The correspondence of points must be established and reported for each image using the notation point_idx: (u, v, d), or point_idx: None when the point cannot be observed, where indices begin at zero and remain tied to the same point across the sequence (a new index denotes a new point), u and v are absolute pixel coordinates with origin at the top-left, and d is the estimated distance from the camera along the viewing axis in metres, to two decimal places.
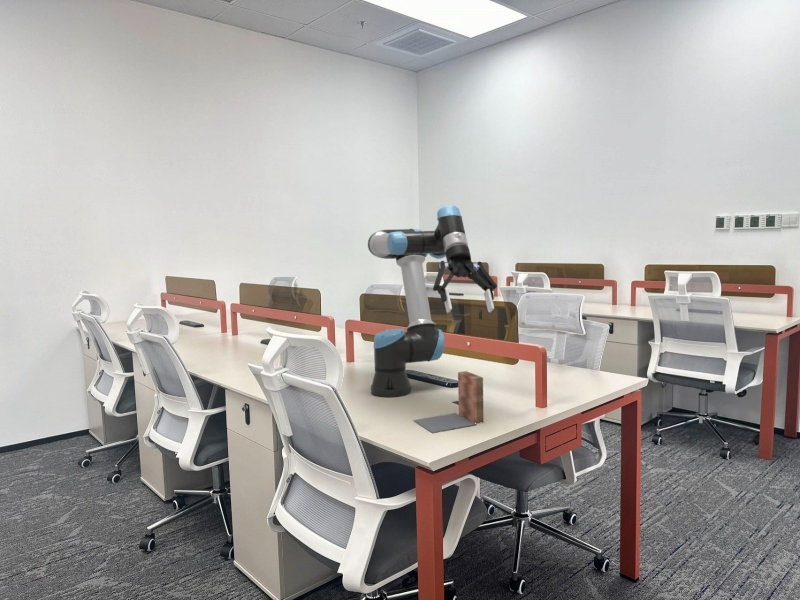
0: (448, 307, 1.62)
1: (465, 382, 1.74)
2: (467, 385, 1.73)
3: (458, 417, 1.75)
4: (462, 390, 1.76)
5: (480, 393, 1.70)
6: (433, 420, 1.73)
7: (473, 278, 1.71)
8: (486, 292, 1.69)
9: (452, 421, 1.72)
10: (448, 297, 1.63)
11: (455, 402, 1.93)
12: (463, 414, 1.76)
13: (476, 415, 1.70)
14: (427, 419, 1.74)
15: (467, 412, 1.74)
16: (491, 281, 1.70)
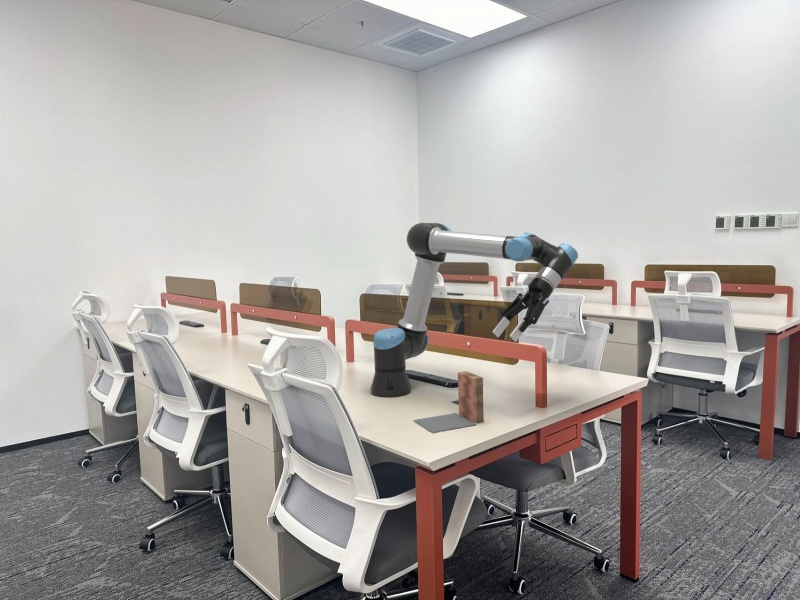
0: (516, 338, 1.73)
1: (465, 382, 1.74)
2: (467, 385, 1.73)
3: (458, 417, 1.75)
4: (462, 390, 1.76)
5: (480, 393, 1.70)
6: (433, 420, 1.73)
7: (520, 306, 1.83)
8: (507, 321, 1.83)
9: (452, 421, 1.72)
10: None
11: (454, 402, 1.93)
12: (463, 414, 1.76)
13: (476, 415, 1.70)
14: (427, 419, 1.74)
15: (467, 412, 1.74)
16: None
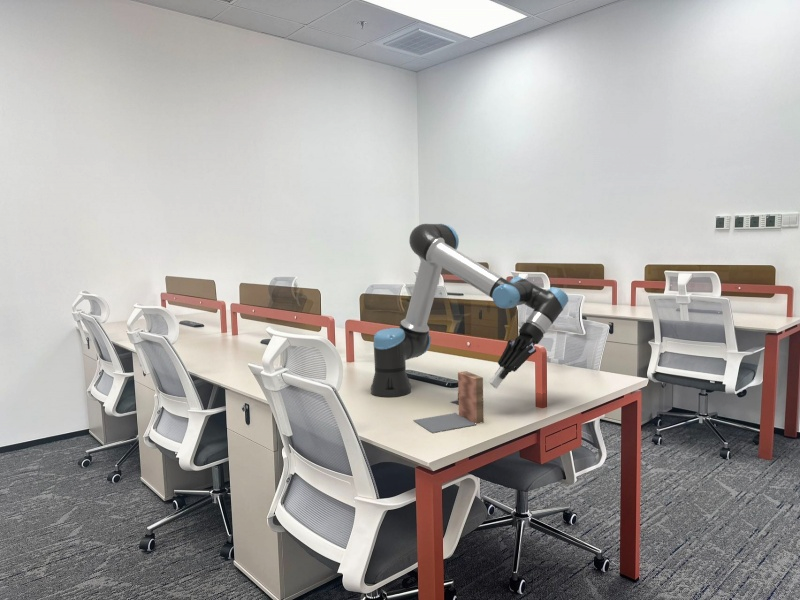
0: (496, 385, 1.77)
1: (465, 382, 1.74)
2: (467, 385, 1.73)
3: (458, 417, 1.75)
4: (462, 390, 1.76)
5: (480, 393, 1.70)
6: (433, 420, 1.73)
7: (514, 352, 1.80)
8: None
9: (452, 421, 1.72)
10: None
11: (454, 402, 1.93)
12: (463, 414, 1.76)
13: (476, 415, 1.70)
14: (427, 419, 1.74)
15: (467, 412, 1.74)
16: None
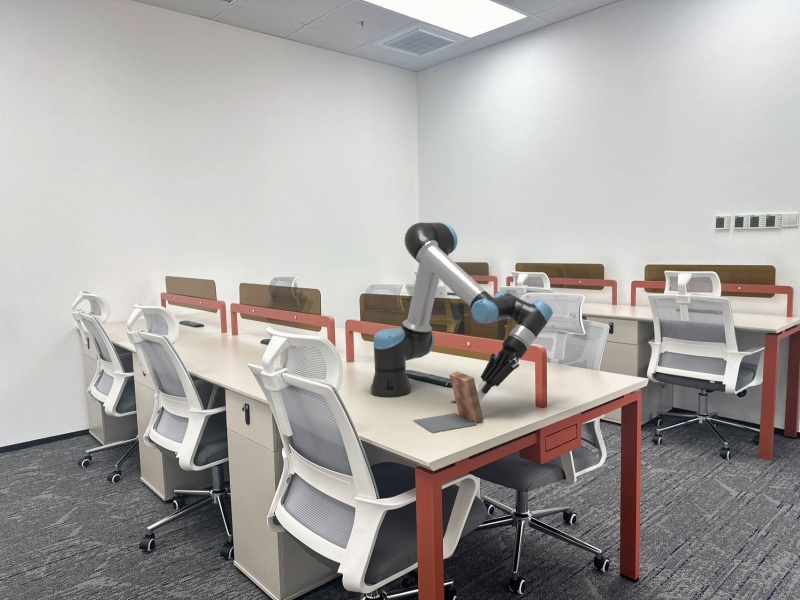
0: (479, 400, 1.74)
1: (458, 384, 1.73)
2: (460, 387, 1.72)
3: (458, 417, 1.75)
4: (457, 392, 1.75)
5: (474, 394, 1.69)
6: (433, 420, 1.73)
7: (497, 366, 1.78)
8: None
9: (452, 421, 1.72)
10: None
11: (454, 402, 1.93)
12: (463, 414, 1.76)
13: (474, 415, 1.70)
14: (427, 419, 1.74)
15: (466, 412, 1.74)
16: None
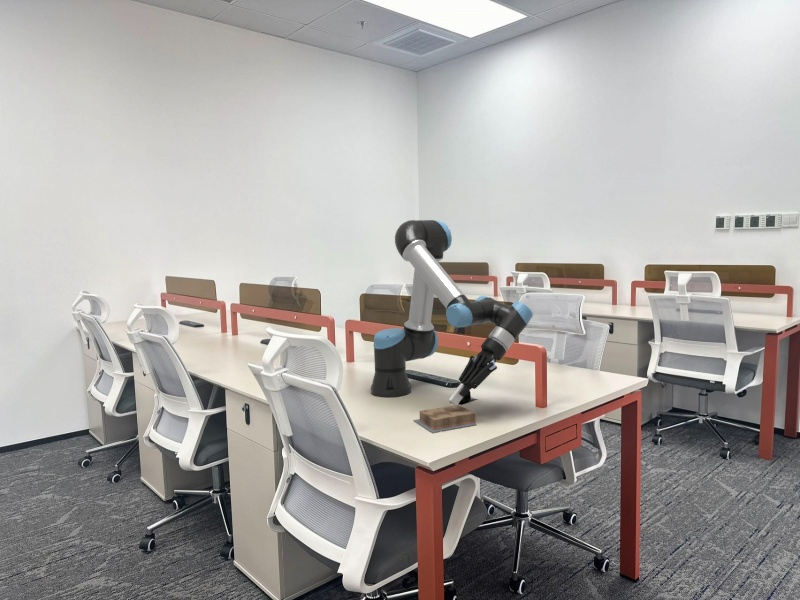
0: (456, 402, 1.72)
1: None
2: None
3: None
4: None
5: (449, 420, 1.66)
6: None
7: (475, 369, 1.75)
8: None
9: None
10: None
11: None
12: None
13: (468, 422, 1.69)
14: None
15: None
16: None
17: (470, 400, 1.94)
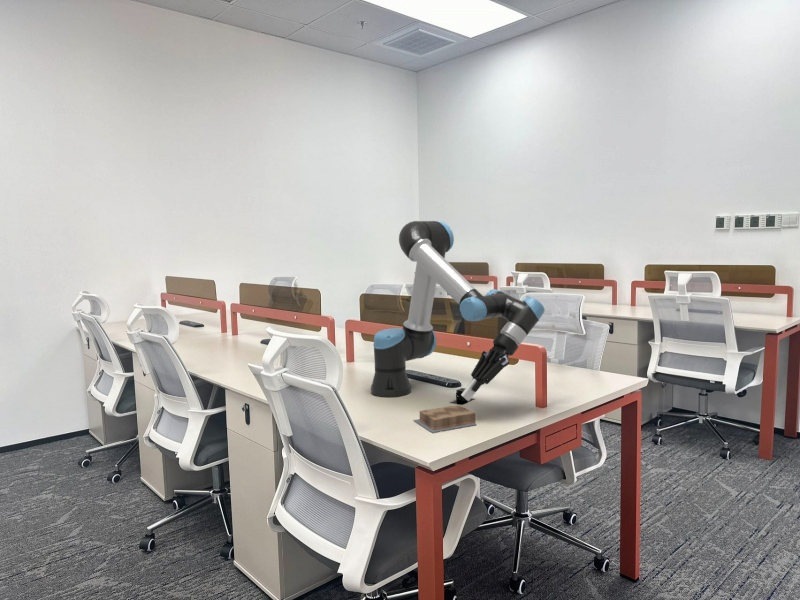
0: (468, 398, 1.72)
1: None
2: None
3: None
4: None
5: (449, 420, 1.66)
6: None
7: (487, 364, 1.76)
8: None
9: None
10: None
11: (454, 402, 1.93)
12: None
13: (468, 422, 1.69)
14: None
15: None
16: None
17: (469, 400, 1.95)
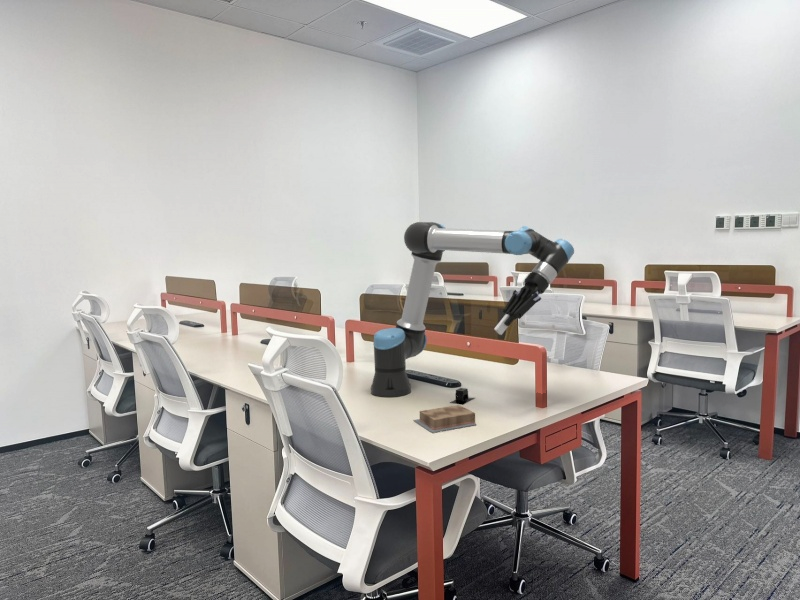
0: (501, 331, 1.81)
1: None
2: None
3: None
4: None
5: (449, 420, 1.66)
6: None
7: (519, 301, 1.84)
8: None
9: None
10: None
11: (454, 402, 1.93)
12: None
13: (468, 422, 1.69)
14: None
15: None
16: None
17: (468, 399, 1.95)
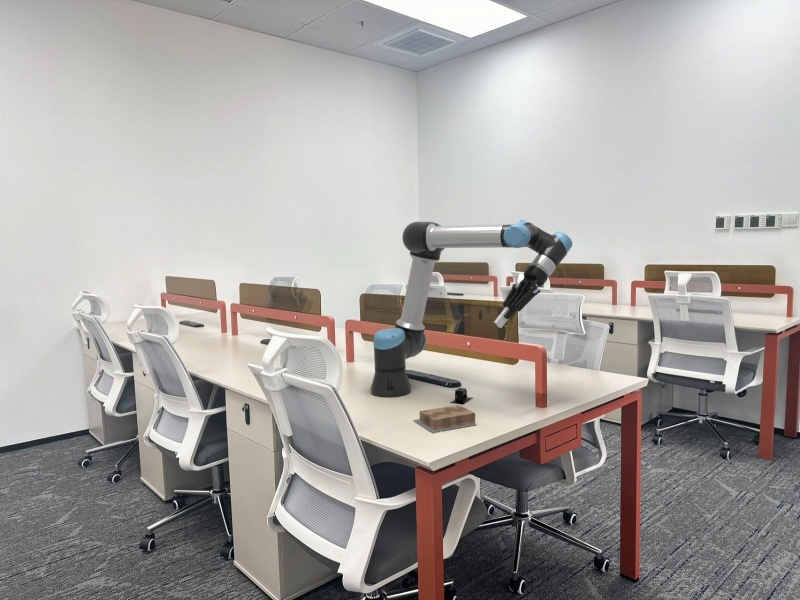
0: (501, 324, 1.81)
1: None
2: None
3: None
4: None
5: (449, 420, 1.66)
6: None
7: (518, 294, 1.85)
8: None
9: None
10: None
11: (454, 402, 1.93)
12: None
13: (468, 422, 1.69)
14: None
15: None
16: None
17: (467, 399, 1.96)
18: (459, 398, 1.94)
